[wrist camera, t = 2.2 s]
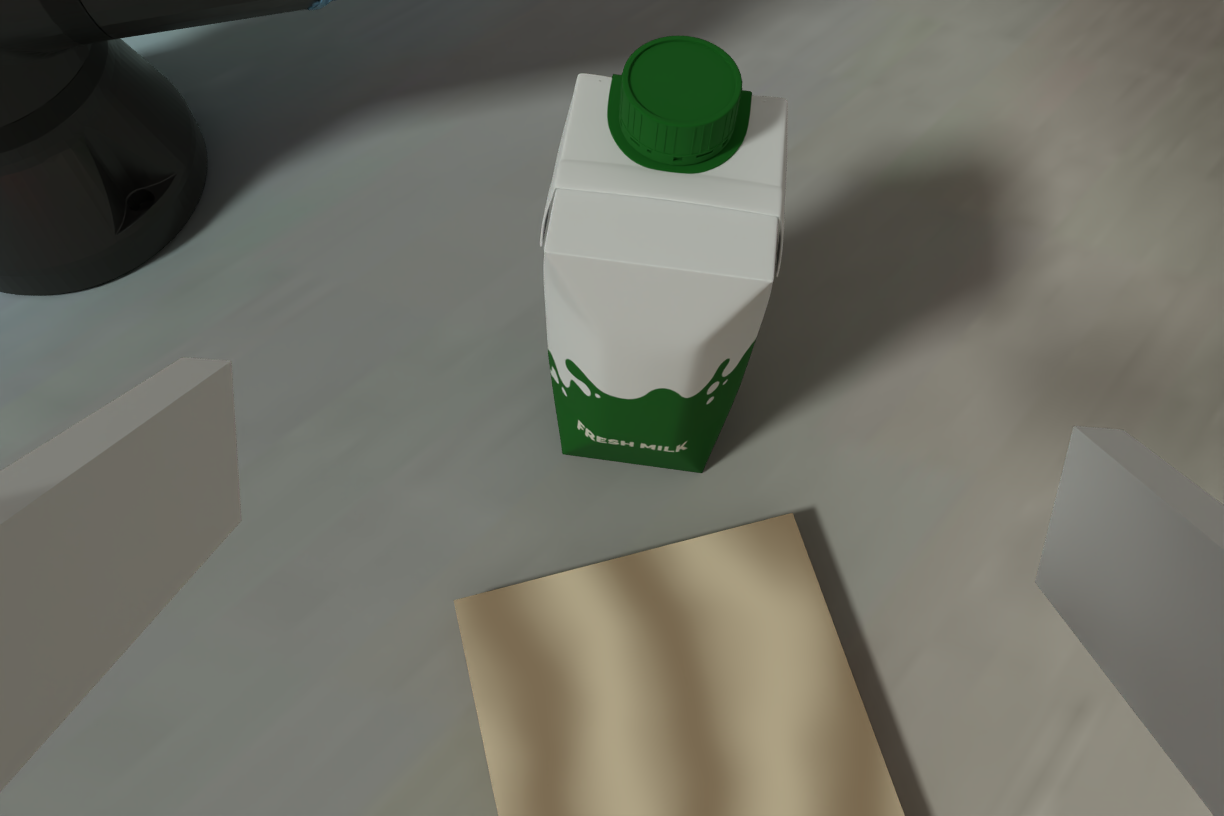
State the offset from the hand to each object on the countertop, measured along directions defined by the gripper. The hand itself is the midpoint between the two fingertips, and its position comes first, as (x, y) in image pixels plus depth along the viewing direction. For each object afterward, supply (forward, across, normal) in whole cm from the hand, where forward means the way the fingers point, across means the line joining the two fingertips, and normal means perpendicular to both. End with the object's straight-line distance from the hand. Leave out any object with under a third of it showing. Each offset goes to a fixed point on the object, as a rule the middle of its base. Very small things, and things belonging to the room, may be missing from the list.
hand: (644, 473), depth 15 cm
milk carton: (+32, +1, -10) cm, 34 cm away
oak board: (+21, +3, -21) cm, 30 cm away
